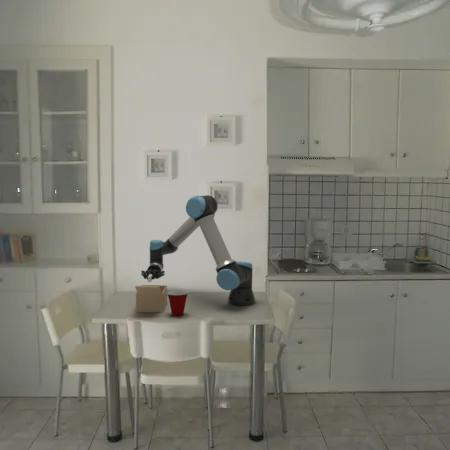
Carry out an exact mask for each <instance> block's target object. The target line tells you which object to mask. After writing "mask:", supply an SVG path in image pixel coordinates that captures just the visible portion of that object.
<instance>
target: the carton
mask: <svg viewBox="0 0 450 450" xmlns="http://www.w3.org/2000/svg"><path fill="white" fill-rule="evenodd" d="M140 286H159V287H160V289H161V293H138V292H137V291H136V293H135V300H136V301H135V312H136V313H164V312H165V309H166V306H167V305H168V304H167V303H168V294H167V292H168V285H167V284H166V285H162V284H161V285H160V284H159V285H157V284H156V285H152V284H151V285H150V284H148V285H147V284H146V285H145V284H141V285H140Z"/></svg>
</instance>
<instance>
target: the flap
mask: <svg viewBox="0 0 450 450" xmlns="http://www.w3.org/2000/svg"><path fill="white" fill-rule="evenodd" d="M134 288H135V290H136V293H137V292H138V293H161V289H160V287H159V286H141V285H134Z"/></svg>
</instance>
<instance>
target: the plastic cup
mask: <svg viewBox="0 0 450 450" xmlns="http://www.w3.org/2000/svg"><path fill="white" fill-rule="evenodd" d="M188 294H189V291H186V290H173V291H167V298H168V300H169V307H170V311H171V313H170V314H171V315H172V316H173V317H182V316H184V314H185V309H186V302H187V297H188Z"/></svg>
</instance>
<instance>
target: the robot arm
mask: <svg viewBox="0 0 450 450" xmlns="http://www.w3.org/2000/svg"><path fill="white" fill-rule="evenodd" d="M217 211H218V201H217V200H216V198H215V197H213V196H211V195H207V194H205V195H196V196H192V197H190V198H189V199H188V200H187V202H186V204H185V212H186V214H187V215H188V219H186V221H184V222H183V223H182V225H181V226H179V227H178V228H177V230H176V231H174V233H173V234H171V236H169V238H168V239H167V240H165V241H163V240H161V239H154V240H153V239H151V240H150V242H149V266H148V267H147V269H146V270H140V271H141V272H140V273H141V276H142V277H143V279H145V280H147V283H152V281H153V280H159V279H160V278H162V277H164V276H165V275H166V274H165V270H164V256H165V255H169V254H174V253H176V252H177V251H178V249H179V246H180V245H181V244H183V243H184V241H185V240H187V239H188V238H189V237H190V236H191V235H192V234H193V233H194V232H196V230H197V229H198V228H200V230H201V233H202V234H203V237H204V239H205V241H206V243H207V246H208V248H209V251H210V253H211V255H212V257H213V260H214V262H215V265H216V268H215V271H216V273H217V275H216V277H215V279H216V283H217V285H218V286H219V287H220V288H221V289H222V290H224V291H229V295H228V297H227V298H228V299H227V303H229V304H230V305H234V306H241V305H244V306H251V305H250V304H252V305H254V304H255V303H256V298H255V295H254V291H253V269H254V268H253V263H251V262H247V261H236V260H235V259H232V257H231V255H230V253H229V250H228V248H227V245H226V243H225V241H224V239H223V237H222V234H221V232H220V230H219V227H218V225H217V222H216V220H215V216H216V212H217ZM253 303H254V304H253Z"/></svg>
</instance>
